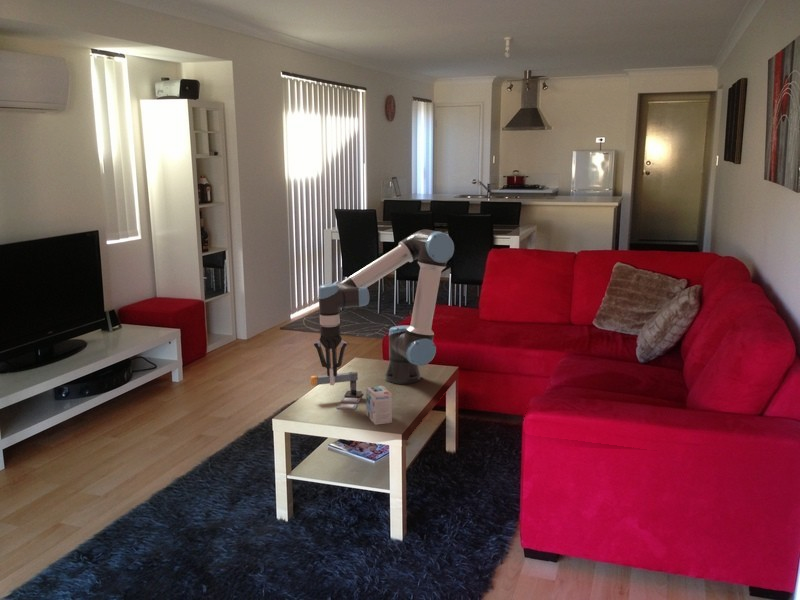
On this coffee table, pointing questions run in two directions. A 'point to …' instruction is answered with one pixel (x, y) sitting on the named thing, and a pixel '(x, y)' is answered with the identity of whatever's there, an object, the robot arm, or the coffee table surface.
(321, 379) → the cable arm
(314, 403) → the coffee table surface
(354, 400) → the label
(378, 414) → the light bulb box
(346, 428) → the coffee table surface
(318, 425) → the coffee table surface
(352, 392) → the post
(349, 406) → the label
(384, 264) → the robot arm
